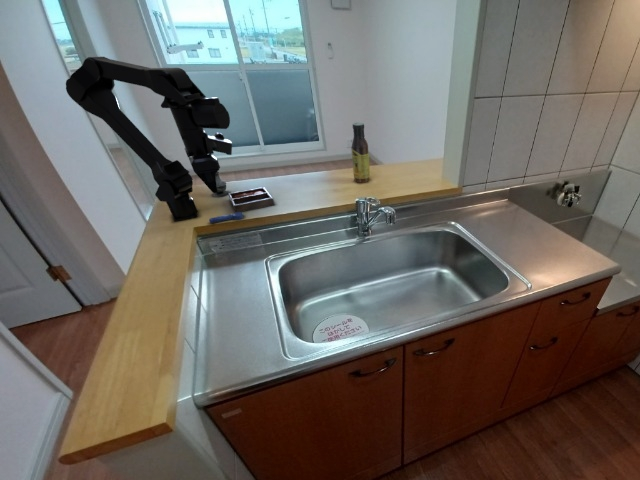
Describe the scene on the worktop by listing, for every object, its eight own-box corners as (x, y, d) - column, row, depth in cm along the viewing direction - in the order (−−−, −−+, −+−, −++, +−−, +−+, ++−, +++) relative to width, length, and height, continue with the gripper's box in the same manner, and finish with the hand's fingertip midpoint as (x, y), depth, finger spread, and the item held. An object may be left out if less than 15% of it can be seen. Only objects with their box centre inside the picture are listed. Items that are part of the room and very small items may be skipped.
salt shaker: (217, 198, 112) (203, 162, 105) (208, 194, 115) (194, 159, 108) (233, 193, 116) (221, 158, 108) (224, 189, 119) (212, 155, 111)
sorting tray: (236, 213, 103) (233, 205, 101) (230, 200, 111) (227, 193, 109) (274, 205, 108) (272, 198, 106) (266, 193, 116) (264, 186, 114)
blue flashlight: (210, 225, 96) (208, 220, 95) (209, 221, 98) (207, 217, 97) (244, 218, 100) (242, 213, 99) (242, 214, 102) (241, 210, 101)
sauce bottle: (352, 178, 127) (347, 122, 115) (368, 177, 129) (364, 120, 116) (356, 184, 122) (350, 125, 110) (372, 182, 124) (368, 124, 111)
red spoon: (235, 202, 108) (234, 197, 107) (234, 199, 110) (232, 194, 109) (264, 196, 112) (263, 192, 111) (263, 193, 114) (261, 189, 113)
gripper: (230, 130, 81) (248, 192, 91) (218, 118, 93) (235, 174, 103) (180, 136, 76) (205, 200, 86) (174, 123, 89) (197, 180, 99)
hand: (212, 187), depth 94 cm, fingers open, 9 cm apart
